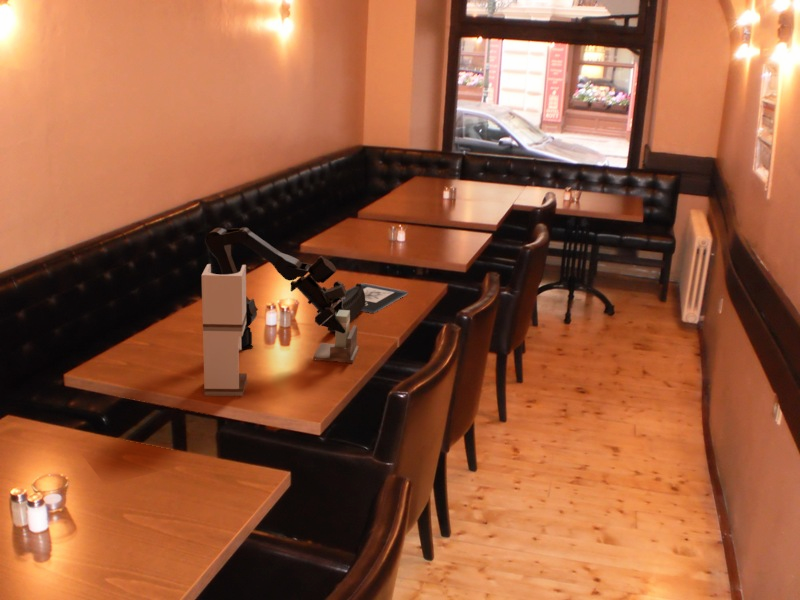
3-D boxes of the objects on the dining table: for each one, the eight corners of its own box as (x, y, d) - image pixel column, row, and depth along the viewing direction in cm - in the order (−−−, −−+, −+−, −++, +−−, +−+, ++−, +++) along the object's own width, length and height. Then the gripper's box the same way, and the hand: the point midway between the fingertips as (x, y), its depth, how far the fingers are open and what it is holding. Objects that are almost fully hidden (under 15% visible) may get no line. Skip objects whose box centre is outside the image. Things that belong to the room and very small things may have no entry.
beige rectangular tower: (242, 395, 239) (241, 276, 229) (204, 395, 238) (201, 275, 228) (246, 380, 250) (245, 264, 240) (210, 379, 249) (207, 264, 239)
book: (334, 354, 270) (335, 316, 266) (338, 347, 276) (339, 309, 272) (345, 355, 270) (346, 316, 266) (348, 348, 276) (350, 310, 272)
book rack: (313, 359, 268) (313, 336, 265) (321, 345, 280) (321, 322, 278) (352, 363, 267) (353, 339, 264) (358, 348, 279) (359, 325, 277)
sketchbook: (323, 305, 324) (323, 300, 323) (361, 286, 350) (361, 281, 349) (373, 315, 315) (374, 309, 314) (408, 295, 341) (409, 290, 340)
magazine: (334, 312, 286) (363, 267, 309) (325, 311, 287) (354, 266, 310) (338, 353, 295) (366, 306, 319) (329, 351, 296) (358, 305, 320)
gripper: (326, 284, 257) (361, 321, 259) (336, 268, 275) (369, 303, 277) (300, 306, 260) (335, 343, 262) (312, 289, 278) (344, 324, 280)
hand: (347, 327), depth 270 cm, fingers open, 9 cm apart
